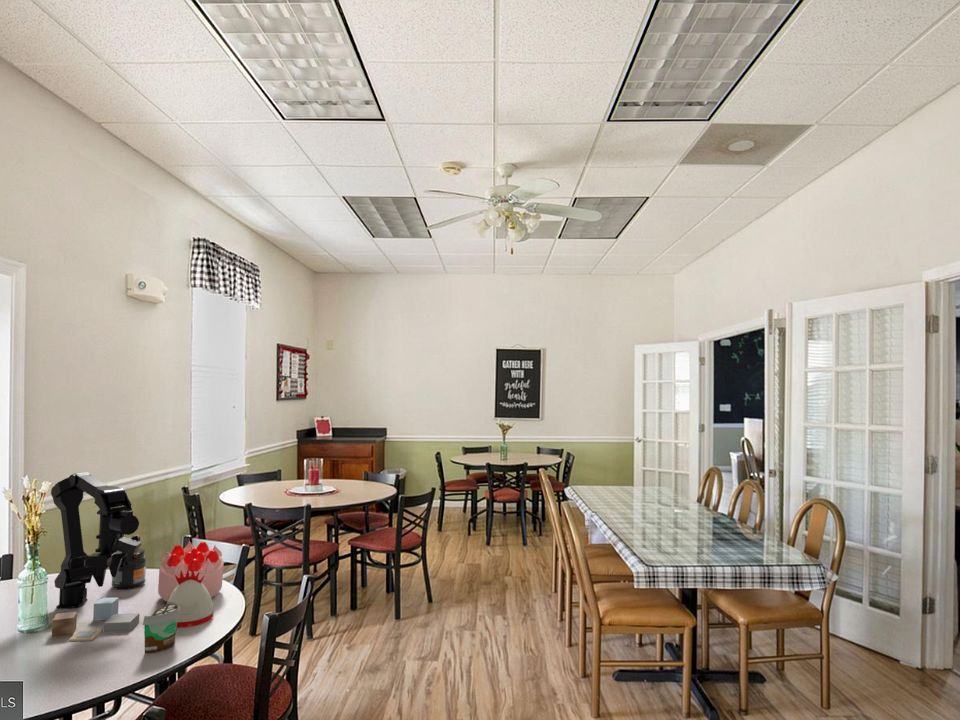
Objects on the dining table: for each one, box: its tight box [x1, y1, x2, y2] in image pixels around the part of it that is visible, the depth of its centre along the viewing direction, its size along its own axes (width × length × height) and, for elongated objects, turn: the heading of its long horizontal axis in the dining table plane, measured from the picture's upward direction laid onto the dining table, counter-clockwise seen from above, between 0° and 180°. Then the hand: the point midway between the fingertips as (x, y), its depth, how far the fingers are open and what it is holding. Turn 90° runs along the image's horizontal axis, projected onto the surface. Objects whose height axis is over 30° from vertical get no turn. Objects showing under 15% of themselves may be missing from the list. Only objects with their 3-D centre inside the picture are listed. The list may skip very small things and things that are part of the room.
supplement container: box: [110, 547, 148, 591], centre depth 216 cm, size 10×10×12 cm
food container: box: [142, 601, 181, 654], centre depth 168 cm, size 12×6×10 cm, turn 179°
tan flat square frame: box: [68, 629, 103, 642], centre depth 173 cm, size 6×6×1 cm
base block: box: [102, 612, 140, 634], centre depth 180 cm, size 7×7×3 cm
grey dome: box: [167, 569, 214, 629], centre depth 187 cm, size 14×14×15 cm
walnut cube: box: [51, 611, 78, 639], centre depth 174 cm, size 5×5×5 cm
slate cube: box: [92, 597, 120, 621], centre depth 187 cm, size 5×5×5 cm
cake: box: [157, 540, 225, 602], centre depth 207 cm, size 20×20×14 cm
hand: (107, 581), depth 188 cm, fingers open, 9 cm apart
